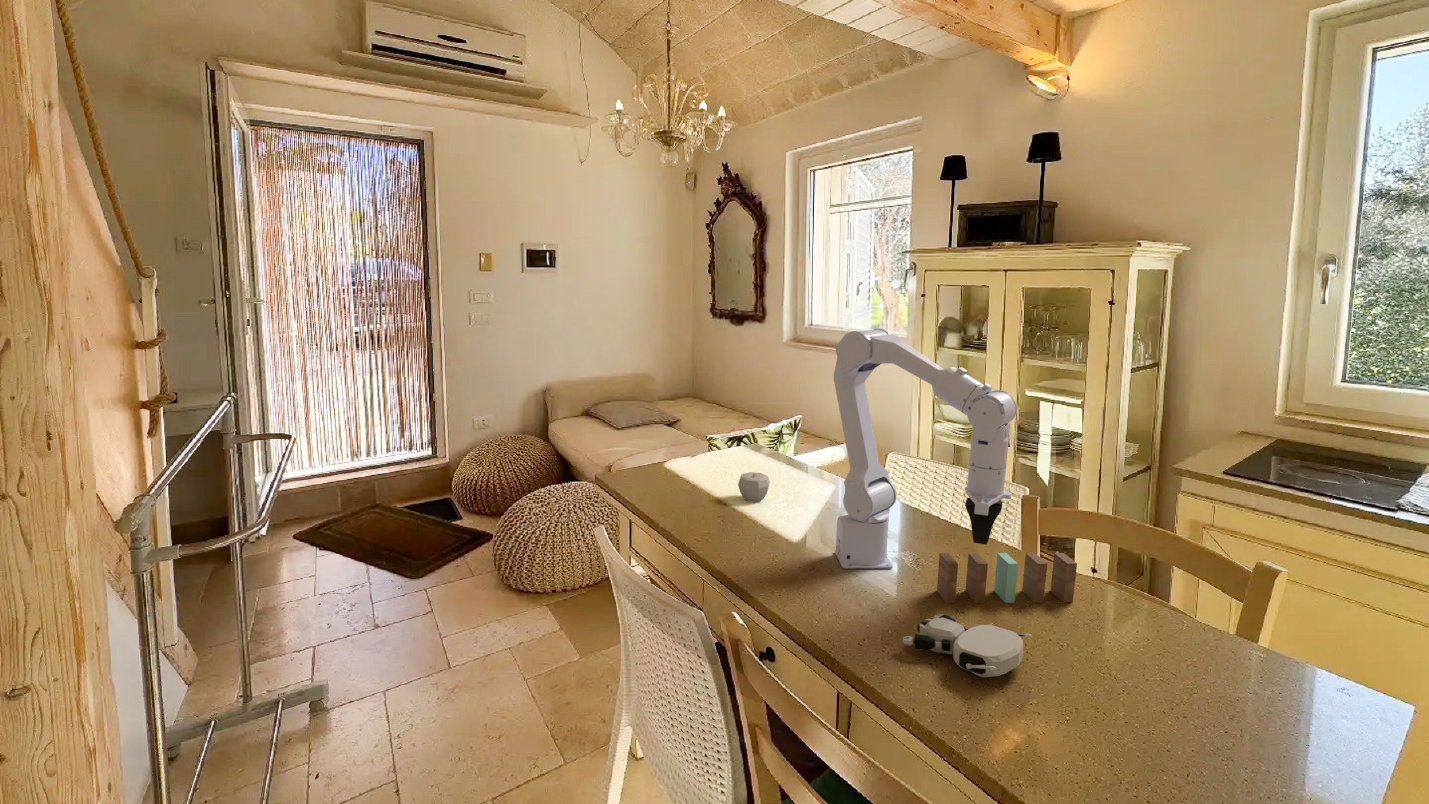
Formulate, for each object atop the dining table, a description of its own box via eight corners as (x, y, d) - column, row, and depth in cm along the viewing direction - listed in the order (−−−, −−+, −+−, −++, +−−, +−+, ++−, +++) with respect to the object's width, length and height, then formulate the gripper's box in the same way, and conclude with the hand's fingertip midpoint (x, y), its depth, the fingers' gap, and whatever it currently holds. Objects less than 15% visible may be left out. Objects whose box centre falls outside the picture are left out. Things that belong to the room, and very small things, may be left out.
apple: (731, 501, 167) (731, 474, 166) (747, 492, 174) (747, 467, 173) (760, 507, 163) (761, 480, 162) (775, 498, 170) (776, 472, 168)
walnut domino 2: (975, 602, 117) (978, 563, 116) (965, 590, 121) (968, 552, 120) (984, 602, 117) (988, 563, 116) (974, 590, 121) (977, 553, 120)
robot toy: (896, 659, 101) (999, 697, 91) (896, 630, 101) (999, 664, 90) (937, 630, 110) (1035, 661, 99) (937, 602, 109) (1036, 631, 99)
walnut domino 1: (945, 602, 117) (948, 563, 116) (936, 590, 121) (939, 553, 120) (955, 602, 117) (958, 563, 116) (945, 590, 121) (948, 553, 120)
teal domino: (1003, 590, 121) (1006, 552, 120) (1014, 602, 117) (1018, 563, 116) (994, 590, 121) (997, 552, 120) (1004, 602, 117) (1008, 563, 116)
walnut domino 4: (1063, 602, 117) (1067, 563, 116) (1050, 590, 122) (1054, 552, 120) (1072, 602, 117) (1077, 563, 116) (1059, 590, 122) (1063, 552, 120)
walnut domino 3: (1033, 602, 117) (1037, 563, 116) (1022, 590, 122) (1025, 552, 120) (1043, 602, 117) (1047, 563, 116) (1031, 590, 122) (1034, 552, 120)
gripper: (1012, 479, 107) (1004, 562, 109) (1015, 457, 120) (1007, 531, 122) (963, 473, 110) (956, 554, 112) (971, 452, 123) (965, 525, 125)
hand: (980, 542), depth 117 cm, fingers closed
